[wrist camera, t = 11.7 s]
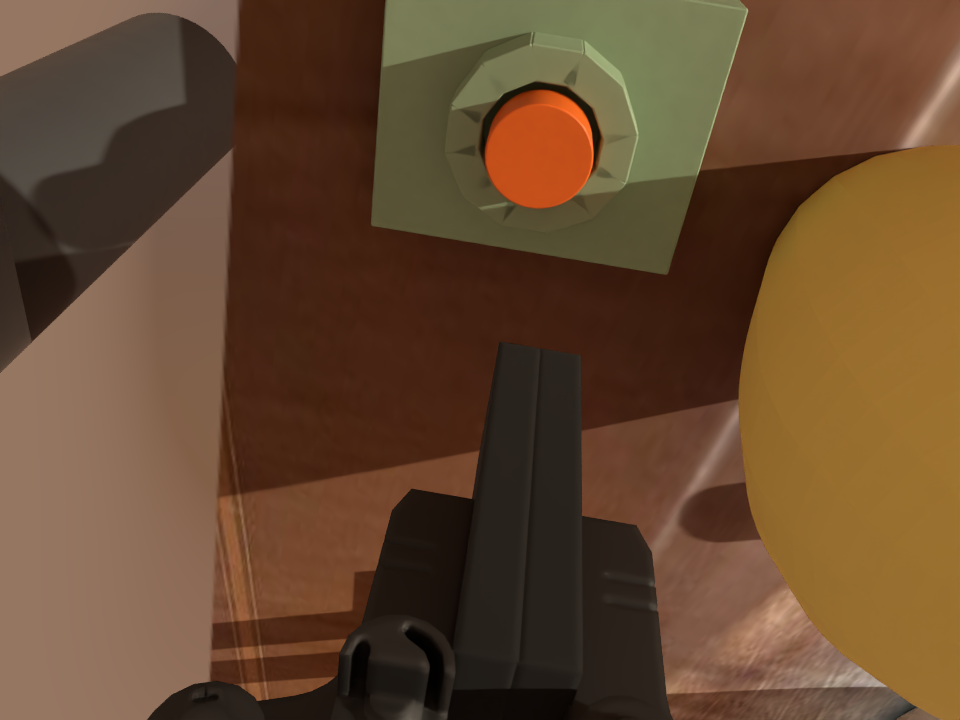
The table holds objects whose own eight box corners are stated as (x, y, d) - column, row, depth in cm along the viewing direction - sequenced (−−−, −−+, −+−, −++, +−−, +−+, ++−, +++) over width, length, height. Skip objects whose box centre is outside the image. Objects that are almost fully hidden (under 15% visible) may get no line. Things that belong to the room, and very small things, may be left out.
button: (482, 181, 29) (477, 200, 27) (496, 80, 27) (492, 95, 25) (580, 197, 29) (580, 217, 27) (602, 97, 27) (604, 113, 25)
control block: (381, 204, 34) (360, 246, 30) (400, -60, 28) (377, -44, 25) (662, 251, 34) (672, 298, 30) (737, -3, 28) (759, 20, 25)
